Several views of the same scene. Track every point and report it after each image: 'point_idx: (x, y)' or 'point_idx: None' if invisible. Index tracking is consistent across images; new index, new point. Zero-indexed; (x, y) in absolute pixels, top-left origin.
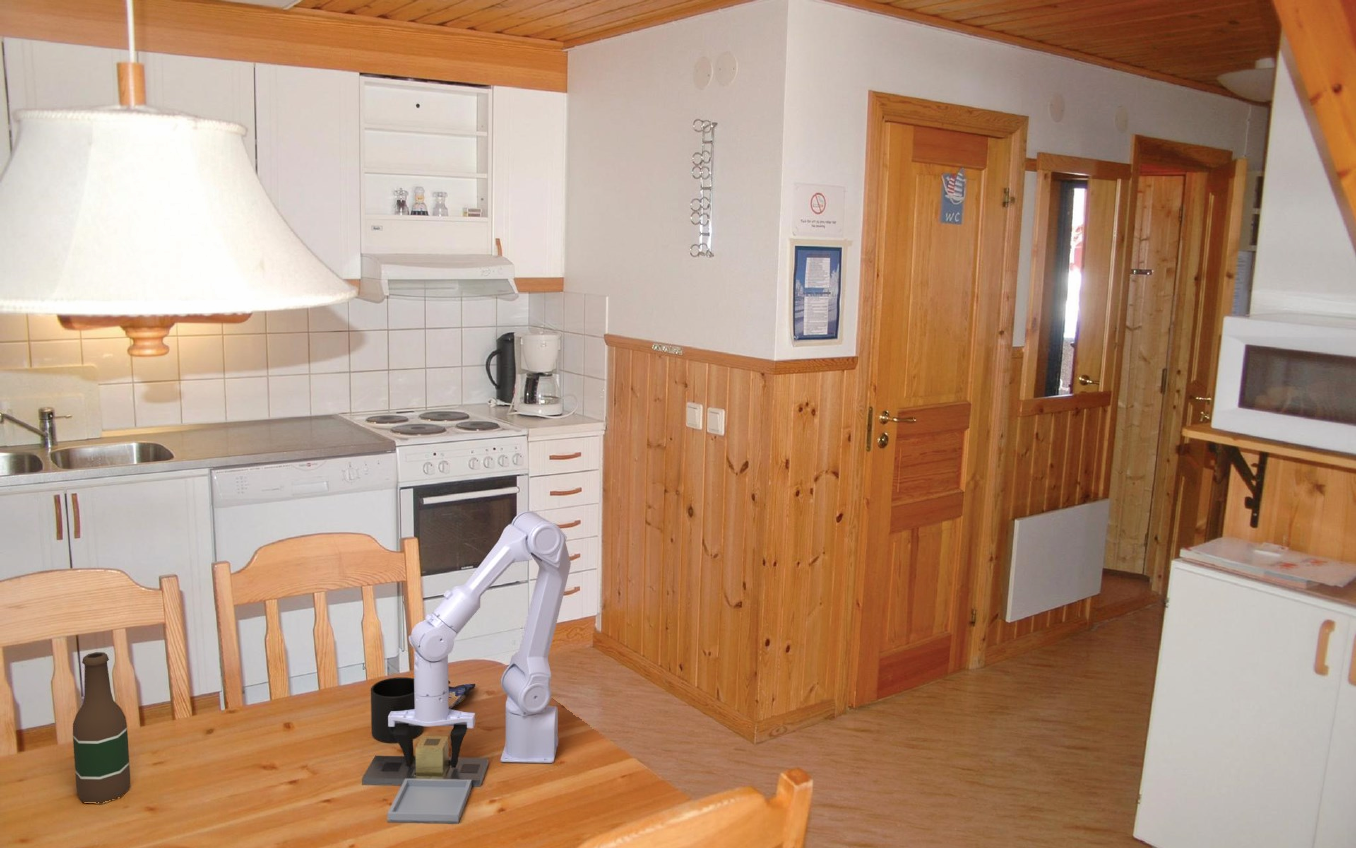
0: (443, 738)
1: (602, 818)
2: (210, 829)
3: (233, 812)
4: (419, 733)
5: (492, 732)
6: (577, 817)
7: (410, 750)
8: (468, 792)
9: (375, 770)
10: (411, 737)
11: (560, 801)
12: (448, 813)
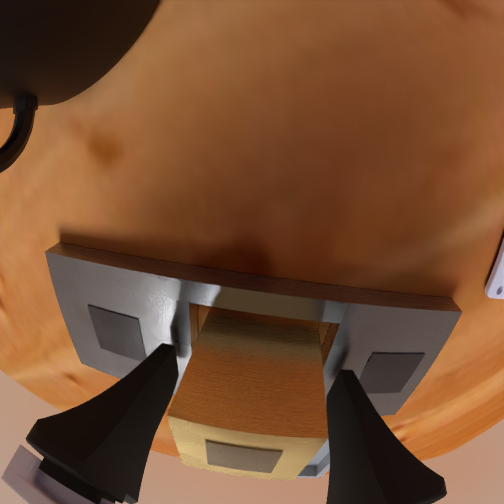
0: (299, 449)
1: (494, 423)
2: (19, 379)
3: (8, 357)
4: (146, 15)
5: (472, 34)
6: (476, 429)
7: (154, 411)
8: None
9: (87, 340)
10: (130, 437)
11: (485, 409)
12: (304, 477)
